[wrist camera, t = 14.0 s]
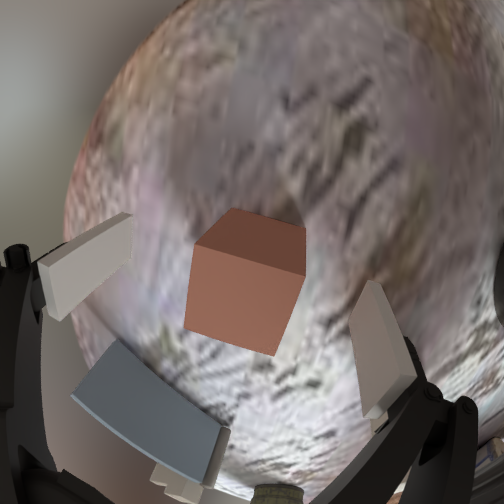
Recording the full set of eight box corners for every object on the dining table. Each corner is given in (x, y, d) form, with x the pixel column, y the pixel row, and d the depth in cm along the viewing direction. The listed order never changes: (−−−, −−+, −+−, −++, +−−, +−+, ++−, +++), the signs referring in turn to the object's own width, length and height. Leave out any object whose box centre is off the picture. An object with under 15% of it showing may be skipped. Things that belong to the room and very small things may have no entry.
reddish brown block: (231, 207, 16) (194, 244, 11) (306, 228, 16) (305, 276, 10) (218, 272, 18) (183, 328, 13) (284, 292, 18) (274, 356, 12)
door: (112, 342, 23) (69, 396, 16) (118, 338, 22) (73, 393, 15) (224, 433, 26) (207, 488, 19) (233, 431, 25) (216, 488, 18)
